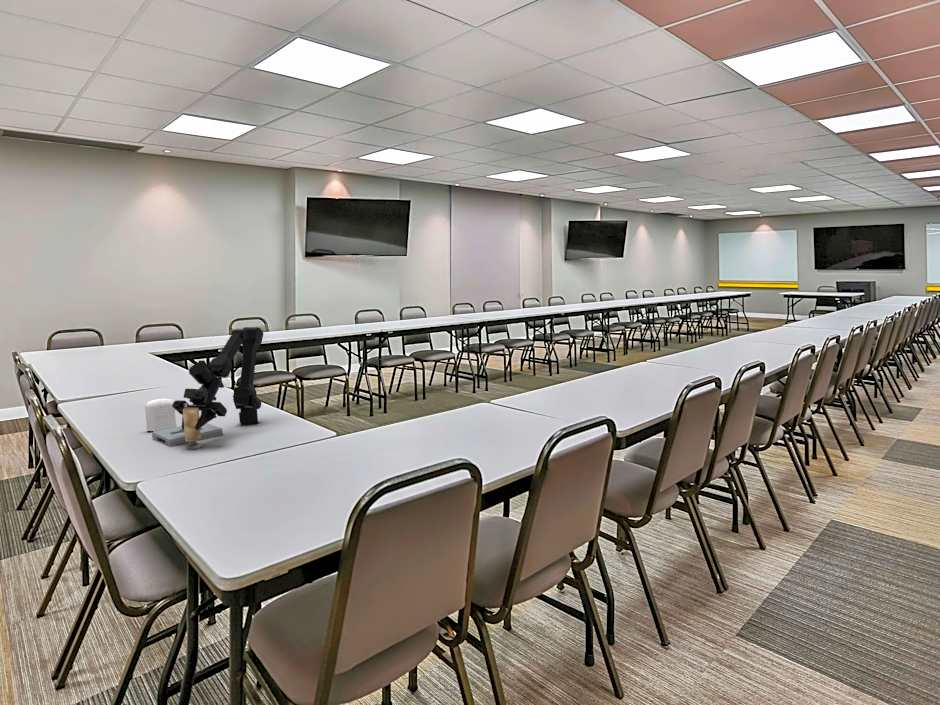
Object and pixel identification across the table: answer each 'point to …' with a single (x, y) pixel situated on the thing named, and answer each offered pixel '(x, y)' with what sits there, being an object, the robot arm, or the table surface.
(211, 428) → the keyhole plate
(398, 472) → the table surface
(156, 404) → the photo printer
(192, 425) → the ribbed peg
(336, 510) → the table surface
